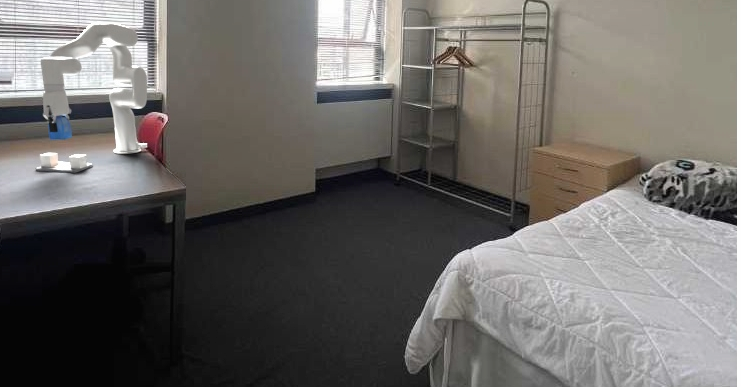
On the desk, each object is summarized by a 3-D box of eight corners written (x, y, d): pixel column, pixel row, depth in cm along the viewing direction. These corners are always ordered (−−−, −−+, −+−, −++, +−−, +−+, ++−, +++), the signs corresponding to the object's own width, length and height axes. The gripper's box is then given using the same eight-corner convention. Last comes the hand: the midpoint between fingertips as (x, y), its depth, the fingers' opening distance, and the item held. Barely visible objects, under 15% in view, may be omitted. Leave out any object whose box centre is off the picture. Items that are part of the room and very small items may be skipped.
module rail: (92, 166, 236) (91, 153, 235) (75, 172, 225) (73, 158, 223) (55, 164, 238) (53, 151, 237) (35, 170, 227) (33, 156, 225)
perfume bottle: (56, 136, 231) (53, 109, 228) (71, 137, 231) (68, 109, 228) (49, 139, 225) (45, 110, 222) (65, 139, 225) (61, 110, 222)
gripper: (60, 86, 231) (65, 127, 236) (30, 89, 215) (37, 133, 219) (76, 87, 231) (81, 128, 235) (48, 90, 214) (54, 134, 219)
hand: (59, 130), depth 227 cm, fingers closed on perfume bottle, 7 cm apart
